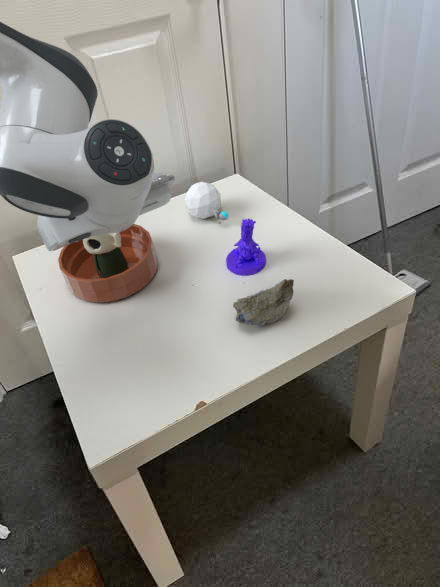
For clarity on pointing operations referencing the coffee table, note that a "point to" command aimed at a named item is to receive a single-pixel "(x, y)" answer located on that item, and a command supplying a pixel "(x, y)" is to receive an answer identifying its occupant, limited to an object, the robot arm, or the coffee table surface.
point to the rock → (265, 304)
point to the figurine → (246, 253)
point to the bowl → (95, 288)
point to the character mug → (106, 253)
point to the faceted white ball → (204, 201)
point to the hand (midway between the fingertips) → (104, 225)
